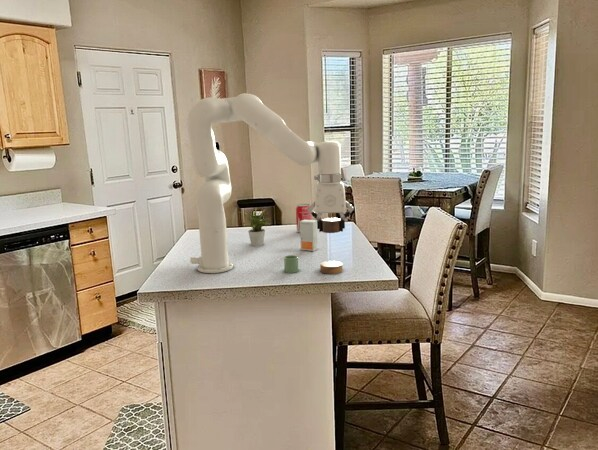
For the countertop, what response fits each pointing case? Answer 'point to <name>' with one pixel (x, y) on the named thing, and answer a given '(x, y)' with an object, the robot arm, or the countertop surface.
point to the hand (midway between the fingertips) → (331, 230)
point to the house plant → (257, 228)
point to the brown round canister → (331, 225)
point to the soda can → (302, 214)
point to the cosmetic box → (308, 235)
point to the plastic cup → (291, 264)
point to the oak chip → (331, 267)
